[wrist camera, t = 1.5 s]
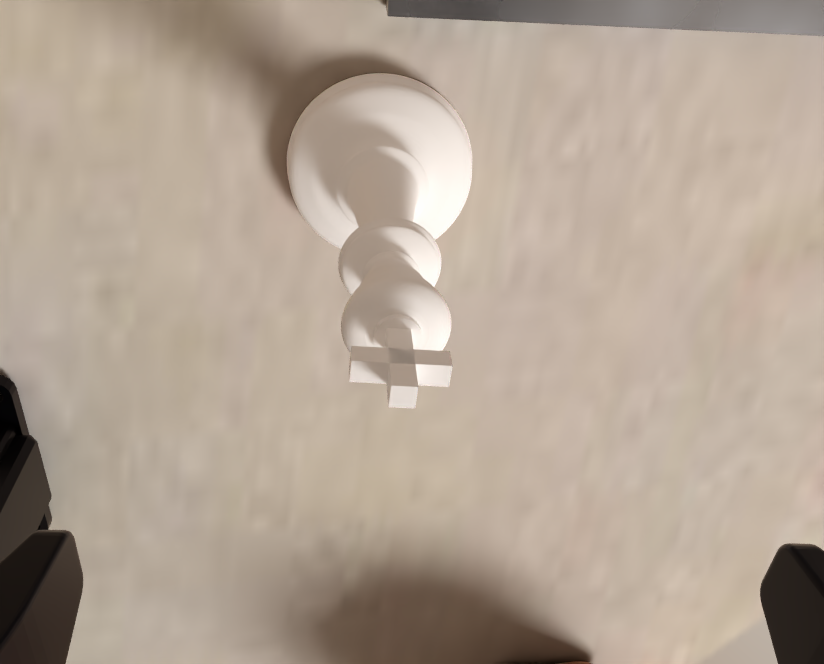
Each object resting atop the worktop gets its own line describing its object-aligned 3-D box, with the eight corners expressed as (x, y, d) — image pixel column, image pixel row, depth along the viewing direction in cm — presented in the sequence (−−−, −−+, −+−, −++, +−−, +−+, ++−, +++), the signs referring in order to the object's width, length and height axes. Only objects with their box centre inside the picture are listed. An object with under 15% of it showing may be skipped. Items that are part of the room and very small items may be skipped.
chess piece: (289, 62, 19) (247, 248, 11) (485, 82, 20) (587, 272, 12) (284, 242, 22) (246, 502, 14) (457, 254, 22) (523, 511, 14)
